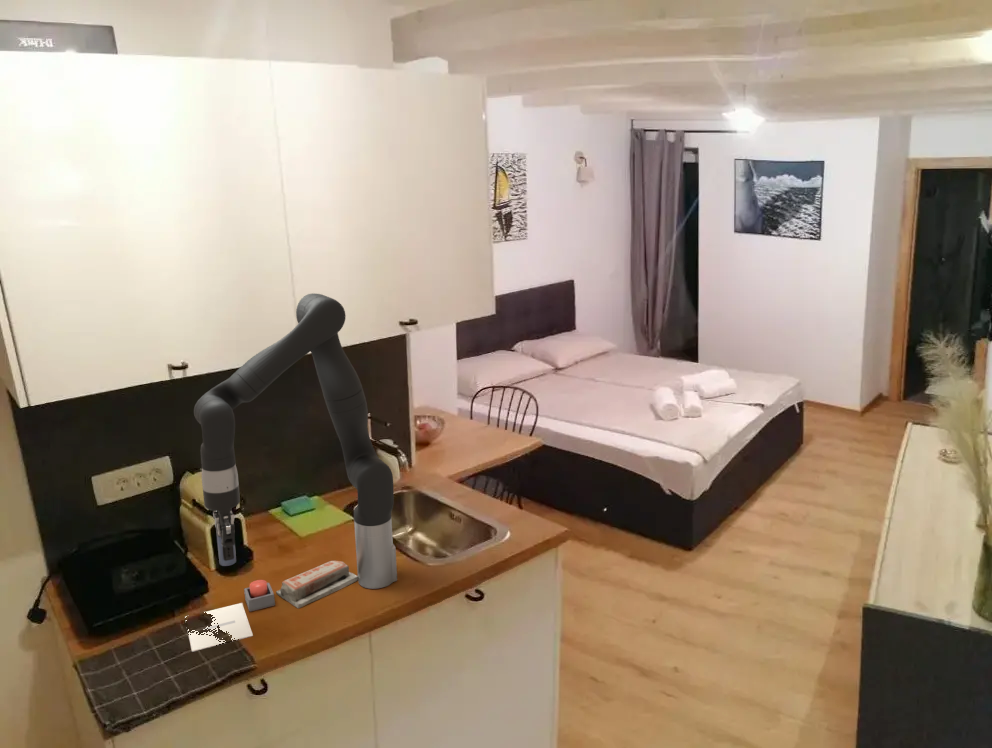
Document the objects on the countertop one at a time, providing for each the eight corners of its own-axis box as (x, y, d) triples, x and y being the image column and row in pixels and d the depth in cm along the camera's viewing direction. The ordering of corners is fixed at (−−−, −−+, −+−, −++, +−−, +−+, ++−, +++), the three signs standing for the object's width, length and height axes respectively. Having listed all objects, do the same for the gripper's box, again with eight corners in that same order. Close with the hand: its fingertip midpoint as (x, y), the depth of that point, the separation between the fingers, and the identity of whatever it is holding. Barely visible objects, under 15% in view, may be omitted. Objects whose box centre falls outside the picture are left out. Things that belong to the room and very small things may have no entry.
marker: (234, 556, 180) (231, 520, 178) (237, 563, 177) (234, 527, 175) (218, 560, 179) (214, 524, 176) (220, 567, 176) (217, 530, 173)
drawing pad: (242, 603, 190) (241, 602, 190) (252, 635, 177) (252, 635, 177) (185, 617, 185) (184, 616, 185) (192, 652, 172) (191, 651, 172)
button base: (270, 593, 195) (269, 582, 194) (275, 605, 190) (273, 594, 189) (245, 599, 192) (244, 588, 191) (249, 611, 187) (248, 600, 186)
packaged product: (296, 593, 187) (274, 578, 193) (298, 611, 188) (276, 595, 195) (358, 564, 199) (334, 552, 206) (359, 581, 200) (336, 568, 207)
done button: (266, 589, 193) (265, 578, 192) (269, 597, 189) (268, 585, 189) (249, 593, 191) (248, 582, 190) (252, 601, 188) (251, 590, 187)
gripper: (243, 493, 169) (250, 565, 173) (232, 470, 181) (239, 539, 185) (207, 499, 165) (214, 573, 170) (198, 476, 177) (205, 545, 182)
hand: (227, 555), depth 177 cm, fingers closed on marker, 3 cm apart
